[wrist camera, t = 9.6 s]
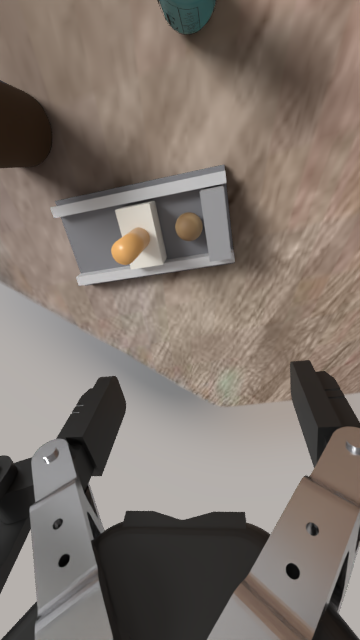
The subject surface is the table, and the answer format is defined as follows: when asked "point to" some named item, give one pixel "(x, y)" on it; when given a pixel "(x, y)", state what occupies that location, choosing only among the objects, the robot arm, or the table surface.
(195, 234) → the walnut
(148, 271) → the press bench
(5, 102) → the olive oil
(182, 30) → the beverage bottle
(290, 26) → the table surface
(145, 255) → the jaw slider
